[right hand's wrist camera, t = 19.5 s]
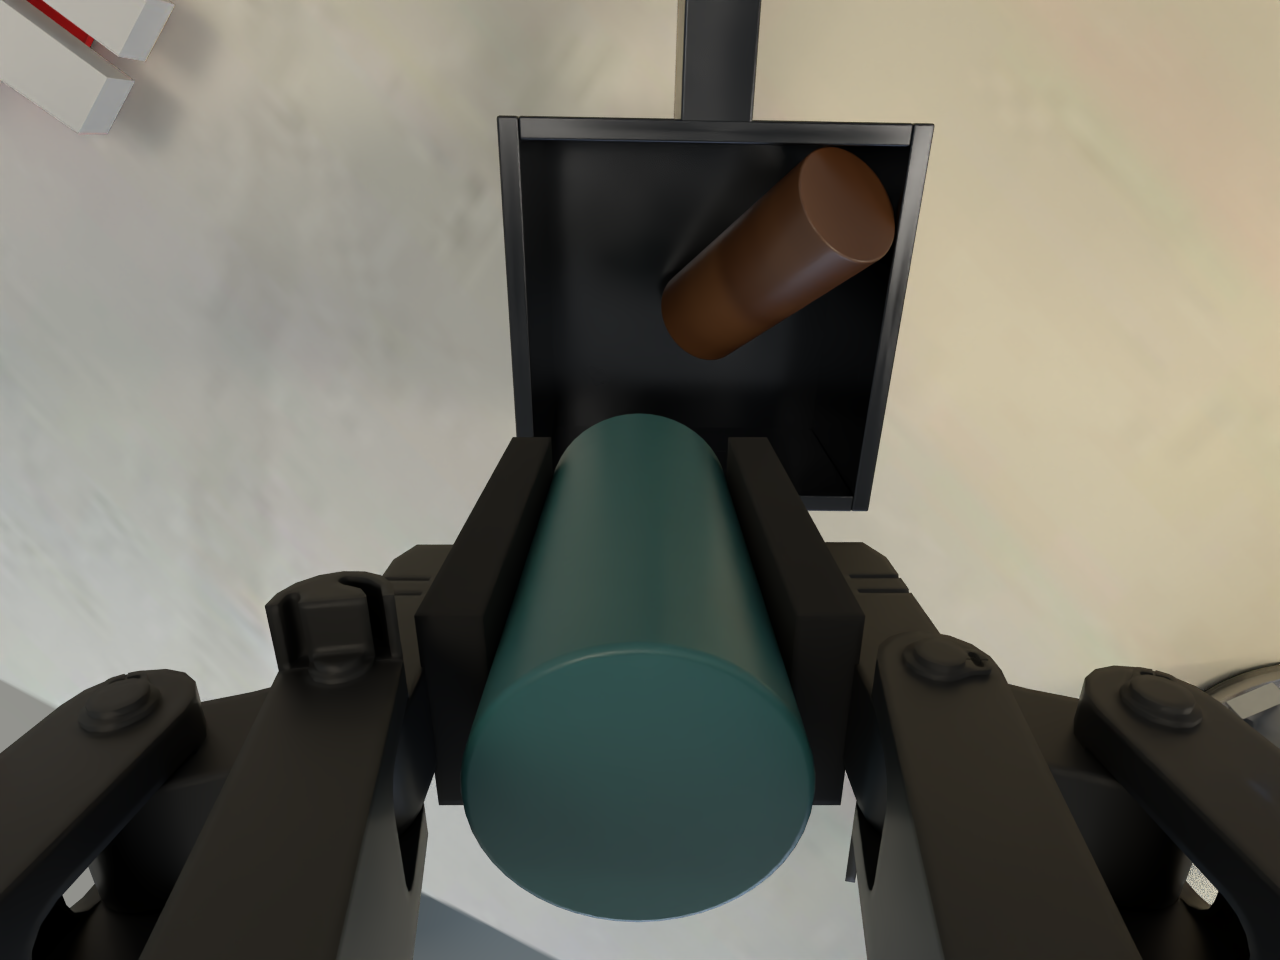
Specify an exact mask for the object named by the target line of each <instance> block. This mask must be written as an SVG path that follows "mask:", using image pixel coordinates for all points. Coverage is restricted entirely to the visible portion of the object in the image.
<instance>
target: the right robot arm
mask: <svg viewBox="0 0 1280 960" xmlns="http://www.w3.org/2000/svg"><path fill="white" fill-rule="evenodd" d="M552 479H553V466H552V445H551V437H513V438H512V440H511V441H510V443H509V445H508V447H507V449H506V450H505V452H504V454H503V456H502V458H501V459H500V461H499V463H498V465H497V467H496V468H495V470H494V472H493V474H492V476H491V478H490V479H489V481H488V483H487V485H486V487H485V488H484V490H483V492H482V494H481V496H480V497H479V499H478V501H477V503H476V505H475V506H474V508H473V510H472V512H471V514H470V515H469V517H468V519H467V521H466V523H465V525H464V526H463V528H462V530H461V532H460V534H459V535H458V537H457V539H456V541H455V543H454V544H453V545H416V546H414V547H413V548H411V549H410V550H408V551H406V552H405V553H403V554H402V555H400V556H399V557H397V558H395V559H394V560H393V561H392V563H391V564H390V566H389V567H388V568H387V570H386V571H385V573H384V574H383V576H381V575H377V574H373V573H369V572H359V571H342V572H336V573H330V574H324V575H318V576H315V577H312V578H309V579H306V580H303V581H300V582H297V583H295V584H293V585H291V586H290V587H288V588H286V589H284V590H282V591H280V592H279V593H277V594H276V595H275V596H274V597H273V598H272V599H271V600H270V601H269V602H268V603H267V604H266V605H265V609H266V614H267V618H268V623H269V628H270V632H271V637H272V641H273V646H274V651H275V655H276V660H277V664H278V669H279V672H278V674H277V676H276V678H275V680H274V682H273V684H272V686H271V687H270V688H266V689H262V690H258V691H254V692H250V693H245V694H240V695H235V696H230V697H225V698H219V699H214V700H209V701H204V702H201V701H200V697H199V693H198V690H197V686H196V682H195V681H194V680H193V679H192V678H191V677H190V676H188V675H187V674H186V673H184V672H179V671H174V670H169V669H159V670H146V671H136V672H131V673H128V674H127V675H125V674H122V675H119V676H116V677H112V678H110V679H108V680H106V681H105V682H103V683H100V684H98V685H96V686H93V687H91V688H89V689H86V690H84V691H83V692H81V693H79V694H78V695H76V696H75V697H73V698H72V699H70V700H68V701H67V702H65V703H64V704H62V705H61V706H59V707H58V708H57V709H56V710H54V711H53V712H52V713H51V714H49V715H48V716H47V717H46V718H44V719H43V720H42V721H41V722H39V723H38V724H37V725H35V726H34V727H33V728H32V729H31V730H29V731H28V732H27V733H25V734H24V735H23V736H22V737H20V738H19V739H18V740H17V741H15V742H14V743H13V744H12V745H10V746H9V747H8V748H7V749H5V750H4V751H3V752H1V753H0V960H413V955H414V946H415V938H416V930H417V922H418V913H419V905H420V897H421V889H422V880H423V872H424V864H425V856H426V847H427V839H428V830H427V822H426V815H425V808H424V800H425V797H426V794H427V792H428V789H429V786H430V783H431V781H432V778H433V775H434V772H435V779H436V786H437V794H438V801H439V805H464V804H463V799H462V794H461V778H460V772H461V765H462V758H463V753H464V750H465V747H466V743H467V740H468V737H469V734H470V731H471V728H472V725H473V722H474V719H475V716H476V712H477V709H478V706H479V703H480V700H481V697H482V694H483V691H484V688H485V685H486V682H487V679H488V676H489V672H490V669H491V666H492V663H493V660H494V657H495V654H496V651H497V648H498V645H499V642H500V639H501V636H502V632H503V629H504V626H505V623H506V620H507V617H508V614H509V611H510V608H511V605H512V602H513V599H514V595H515V592H516V589H517V586H518V583H519V580H520V577H521V574H522V571H523V568H524V565H525V562H526V559H527V555H528V552H529V549H530V546H531V543H532V540H533V537H534V534H535V531H536V528H537V525H538V522H539V519H540V515H541V512H542V509H543V506H544V503H545V500H546V497H547V494H548V491H549V488H550V485H551V482H552ZM726 482H727V485H728V488H729V491H730V495H731V498H732V501H733V504H734V507H735V510H736V514H737V517H738V520H739V523H740V526H741V529H742V533H743V536H744V539H745V542H746V545H747V548H748V551H749V555H750V558H751V561H752V564H753V567H754V570H755V574H756V577H757V580H758V583H759V586H760V589H761V592H762V596H763V599H764V602H765V605H766V608H767V611H768V615H769V618H770V621H771V624H772V627H773V630H774V634H775V637H776V640H777V643H778V646H779V649H780V652H781V656H782V659H783V662H784V665H785V668H786V671H787V675H788V678H789V681H790V684H791V687H792V690H793V694H794V697H795V700H796V703H797V706H798V709H799V712H800V716H801V719H802V722H803V725H804V728H805V731H806V735H807V738H808V741H809V744H810V747H811V750H812V753H813V759H814V766H815V773H816V775H815V794H814V799H813V804H812V805H841V798H842V790H843V782H844V775H845V770H846V773H847V776H848V778H849V781H850V784H851V786H852V789H853V792H854V795H855V797H856V800H857V801H856V808H855V815H854V822H853V829H852V836H851V844H850V851H849V858H848V865H847V872H846V879H845V881H848V882H854V883H855V879H856V873H857V879H858V887H859V895H860V904H861V912H862V920H863V928H864V936H865V945H866V953H867V960H1280V665H1275V666H1269V667H1264V668H1260V669H1256V670H1252V671H1249V672H1246V673H1243V674H1240V675H1237V676H1235V677H1232V678H1230V679H1227V680H1225V681H1223V682H1221V683H1219V684H1217V685H1215V686H1213V687H1212V688H1210V689H1208V690H1206V691H1205V692H1203V691H1202V690H1200V689H1199V688H1197V687H1196V686H1193V685H1191V684H1188V683H1186V682H1184V681H1181V680H1179V679H1177V678H1175V677H1173V676H1172V675H1169V674H1166V673H1163V672H1160V671H1152V669H1147V668H1141V667H1126V666H1110V667H1104V668H1099V669H1095V670H1094V671H1093V672H1091V673H1090V674H1089V675H1088V676H1087V677H1086V678H1085V680H1084V684H1083V687H1082V691H1081V695H1080V699H1077V698H1072V697H1067V696H1062V695H1056V694H1051V693H1046V692H1041V691H1036V690H1031V689H1026V688H1022V687H1018V686H1015V685H1011V684H1008V683H1007V681H1006V679H1005V677H1004V675H1003V673H1002V671H1001V669H1000V668H999V667H998V665H997V664H996V663H995V662H994V661H993V659H992V658H991V657H990V656H989V655H987V654H986V653H984V652H983V651H981V650H980V649H978V648H977V647H975V646H974V645H972V644H970V643H967V642H965V641H962V640H959V639H957V638H954V637H952V636H948V635H943V634H940V633H939V631H938V630H937V629H936V627H935V626H934V624H933V623H932V622H931V620H930V619H929V617H928V616H927V614H926V613H925V612H924V610H923V609H922V607H921V606H920V605H919V603H918V602H917V600H916V599H915V597H914V596H913V595H912V593H909V589H908V587H907V586H906V585H905V583H904V582H903V580H902V579H901V578H899V577H898V573H897V572H896V570H895V569H894V568H893V566H892V565H891V563H890V562H889V561H888V559H887V558H886V557H885V556H883V555H882V554H880V553H879V552H877V551H876V550H874V549H872V548H871V547H869V546H868V545H866V544H865V543H863V542H824V540H823V538H822V536H821V535H820V533H819V531H818V529H817V527H816V525H815V524H814V522H813V520H812V518H811V516H810V515H809V513H808V511H807V509H806V507H805V506H804V504H803V502H802V500H801V498H800V497H799V495H798V493H797V491H796V489H795V487H794V486H793V484H792V482H791V480H790V478H789V477H788V475H787V473H786V471H785V469H784V468H783V466H782V464H781V462H780V460H779V459H778V457H777V455H776V453H775V451H774V449H773V448H772V446H771V444H770V442H769V440H768V439H767V437H728V456H727V478H726ZM1192 863H1193V864H1194V865H1195V866H1196V867H1197V868H1198V869H1199V870H1200V871H1201V872H1202V873H1203V875H1204V876H1205V877H1206V878H1207V879H1208V880H1209V881H1210V882H1211V883H1212V884H1213V885H1214V887H1215V888H1216V889H1217V890H1218V891H1219V892H1218V894H1217V897H1216V899H1215V902H1214V903H1213V904H1212V905H1210V904H1208V903H1207V902H1206V901H1205V900H1203V899H1202V898H1201V897H1200V896H1199V895H1198V894H1197V893H1196V892H1195V891H1194V890H1193V889H1192V887H1191V886H1190V885H1189V884H1188V883H1187V882H1186V878H1187V876H1188V873H1189V870H1190V868H1191V865H1192ZM87 867H89V869H90V872H91V875H92V877H93V880H94V883H95V884H94V885H93V887H92V888H91V889H90V890H89V891H88V892H87V893H86V894H85V896H84V897H83V898H82V899H80V900H79V901H78V902H77V903H75V904H74V905H73V906H72V907H71V908H69V907H68V906H67V905H66V903H65V901H64V898H63V896H62V895H63V894H64V892H65V891H66V890H67V889H68V888H69V887H70V886H71V885H72V884H73V883H74V882H75V880H76V879H77V878H78V877H79V876H80V875H81V874H82V873H83V872H84V871H85V869H86V868H87Z"/></svg>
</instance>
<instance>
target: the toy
mask: <svg viewBox="0 0 1280 960" xmlns="http://www.w3.org/2000/svg"><path fill="white" fill-rule="evenodd" d="M174 7H175V5H174V4H173V3H172V2H171V1H169V0H0V80H1V81H3V82H4V83H5V84H7V85H8V86H10V87H11V88H13V89H14V90H15V91H17V92H18V93H20V94H21V95H23V96H24V97H26V98H27V99H28V100H30V101H31V102H33V103H34V104H36V105H37V106H38V107H40V108H41V109H43V110H44V111H46V112H47V113H49V114H50V115H51V116H53V117H54V118H56V119H57V120H59V121H60V122H62V123H63V124H64V125H66V126H67V127H69V128H70V129H72V130H73V131H74V132H76V133H77V134H108V132H109V130H110V128H111V126H112V124H113V122H114V120H115V119H116V117H117V115H118V113H119V111H120V109H121V107H122V105H123V103H124V101H125V100H126V98H127V96H128V94H129V92H130V90H131V88H132V86H133V84H134V82H135V81H134V80H133V79H132V78H130V77H129V76H128V75H126V74H125V73H123V72H122V71H121V70H119V69H118V68H117V67H115V66H114V65H113V64H111V63H110V62H109V61H107V60H106V59H105V58H103V57H102V56H101V55H99V54H98V53H96V52H95V51H94V50H92V49H91V48H90V47H91V44H92V42H93V40H94V39H95V40H96V41H98V42H99V43H100V44H102V45H103V46H104V47H106V48H107V49H108V50H110V51H111V52H112V53H114V54H115V55H116V56H118V57H123V58H128V59H134V60H140V61H145V62H146V60H147V58H148V56H149V54H150V52H151V50H152V48H153V46H154V44H155V43H156V41H157V39H158V37H159V35H160V33H161V31H162V29H163V27H164V26H165V24H166V22H167V20H168V18H169V16H170V14H171V12H172V10H173V8H174Z"/></svg>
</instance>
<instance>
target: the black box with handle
mask: <svg viewBox="0 0 1280 960" xmlns="http://www.w3.org/2000/svg"><path fill="white" fill-rule="evenodd" d="M760 12H761V0H678V10H677V40H676V71H675V101H674V119H660V118H606V117H553V116H520V117H518V116H497V130H498V146H499V162H500V178H501V194H502V210H503V226H504V243H505V259H506V275H507V291H508V307H509V323H510V339H511V355H512V372H513V388H514V404H515V420H516V436H517V437H551V445H552V466H553V475H554V472H555V469H556V466H557V464H558V462H559V460H560V458H561V456H562V455H563V453H564V452H565V450H566V449H567V447H568V446H569V445H570V444H571V443H572V442H573V441H574V440H575V439H576V438H577V437H578V436H579V435H580V434H581V433H583V432H584V431H585V430H587V429H588V428H590V427H592V426H593V425H595V424H597V423H599V422H601V421H603V420H606V419H609V418H612V417H616V416H621V415H626V414H652V415H657V416H662V417H666V418H669V419H672V420H675V421H677V422H679V423H681V424H683V425H685V426H686V427H688V428H690V429H691V430H693V431H694V432H695V433H697V434H698V435H699V436H700V437H701V438H702V439H703V440H704V441H705V442H706V443H707V444H708V445H709V446H710V447H711V449H712V450H713V452H714V453H715V455H716V456H717V458H718V460H719V462H720V464H721V467H722V469H723V473H724V476H725V479H726V478H727V456H728V437H767V439H768V440H769V442H770V444H771V446H772V448H773V449H774V451H775V453H776V455H777V457H778V459H779V460H780V462H781V464H782V466H783V468H784V469H785V471H786V473H787V475H788V477H789V478H790V480H791V482H792V484H793V486H794V487H795V489H796V491H797V493H798V495H799V497H800V498H801V500H802V502H803V504H804V506H805V507H806V509H807V511H851V510H852V511H868V507H869V501H870V496H871V490H872V484H873V478H874V472H875V467H876V461H877V455H878V449H879V444H880V438H881V432H882V426H883V420H884V415H885V409H886V403H887V397H888V391H889V386H890V380H891V374H892V368H893V363H894V357H895V351H896V345H897V339H898V334H899V328H900V322H901V316H902V311H903V305H904V299H905V293H906V287H907V282H908V276H909V270H910V264H911V258H912V253H913V247H914V241H915V235H916V230H917V224H918V218H919V212H920V206H921V201H922V195H923V189H924V183H925V178H926V172H927V166H928V160H929V154H930V149H931V143H932V137H933V131H934V124H929V123H913V124H911V123H875V122H821V121H768V120H752V118H753V105H754V92H755V78H756V65H757V52H758V38H759V25H760ZM822 147H837V148H841V149H844V150H846V151H849V152H851V153H852V154H854V155H856V156H857V157H859V158H860V159H861V160H862V161H864V162H865V163H866V164H867V165H868V166H869V167H870V168H871V169H872V170H873V172H874V173H875V174H876V175H877V177H878V178H879V180H880V181H881V183H882V184H883V186H884V188H885V190H886V192H887V194H888V196H889V199H890V201H891V204H892V208H893V212H894V218H895V234H894V239H893V242H892V245H891V247H890V249H889V250H888V252H887V253H886V254H885V255H884V256H883V257H882V258H881V259H880V260H878V261H876V262H875V263H873V264H872V265H870V266H868V267H867V268H865V269H864V270H862V271H861V272H859V273H857V274H856V275H854V276H853V277H851V278H849V279H848V280H846V281H845V282H843V283H842V284H840V285H838V286H837V287H835V288H834V289H832V290H830V291H829V292H827V293H826V294H824V295H822V296H821V297H819V298H818V299H816V300H815V301H813V302H811V303H810V304H808V305H807V306H805V307H803V308H802V309H800V310H799V311H797V312H796V313H794V314H792V315H791V316H789V317H788V318H786V319H784V320H783V321H781V322H780V323H778V324H776V325H775V326H773V327H772V328H770V329H769V330H767V331H765V332H764V333H762V334H761V335H759V336H757V337H756V338H754V339H753V340H751V341H749V342H748V343H746V344H745V345H743V346H742V347H740V348H738V349H737V350H735V351H734V352H732V353H730V354H729V355H727V356H725V357H723V358H721V359H717V360H704V359H700V358H697V357H694V356H692V355H690V354H689V353H687V352H686V351H684V350H683V349H682V348H681V347H680V346H678V344H677V343H676V342H675V341H674V340H673V338H672V337H671V336H670V334H669V332H668V331H667V328H666V326H665V324H664V321H663V317H662V311H661V300H662V295H663V292H664V289H665V287H666V285H667V284H668V282H669V281H670V280H671V279H672V278H673V277H674V276H675V275H676V274H677V273H679V272H680V271H681V270H682V269H683V268H684V267H685V266H686V265H687V264H688V263H690V262H691V261H692V260H693V259H694V258H695V257H696V256H697V255H698V254H699V253H701V252H702V251H703V250H704V249H705V248H706V247H707V246H708V245H709V244H710V243H712V242H713V241H714V240H715V239H716V238H717V237H718V236H719V235H720V234H721V233H723V232H724V231H725V230H726V229H727V228H728V227H729V226H730V225H731V224H732V223H734V222H735V221H736V220H737V219H738V218H739V217H740V216H741V215H742V214H743V213H745V212H746V211H747V210H748V209H749V208H750V207H751V206H752V205H753V204H755V203H756V202H757V201H758V200H759V199H760V198H761V197H762V196H763V195H764V194H766V193H767V192H768V191H769V190H770V189H771V188H772V187H773V186H774V185H775V184H777V183H778V182H779V181H780V180H781V179H782V178H783V177H784V176H785V175H786V174H788V173H789V172H790V171H791V170H792V169H793V168H794V167H795V166H796V165H797V164H799V163H800V162H801V161H802V160H803V159H804V158H805V157H806V156H807V155H808V154H810V153H811V152H812V151H814V150H816V149H819V148H822Z"/></svg>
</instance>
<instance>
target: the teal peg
mask: <svg viewBox="0 0 1280 960" xmlns="http://www.w3.org/2000/svg"><path fill="white" fill-rule="evenodd" d="M815 775H816V773H815V766H814V759H813V753H812V750H811V747H810V744H809V741H808V738H807V735H806V731H805V728H804V725H803V722H802V719H801V716H800V712H799V709H798V706H797V703H796V700H795V697H794V694H793V690H792V687H791V684H790V681H789V678H788V675H787V671H786V668H785V665H784V662H783V659H782V656H781V652H780V649H779V646H778V643H777V640H776V637H775V634H774V630H773V627H772V624H771V621H770V618H769V615H768V611H767V608H766V605H765V602H764V599H763V596H762V592H761V589H760V586H759V583H758V580H757V577H756V574H755V570H754V567H753V564H752V561H751V558H750V555H749V551H748V548H747V545H746V542H745V539H744V536H743V533H742V529H741V526H740V523H739V520H738V517H737V514H736V510H735V507H734V504H733V501H732V498H731V495H730V491H729V488H728V485H727V482H726V479H725V476H724V473H723V469H722V467H721V464H720V462H719V460H718V458H717V456H716V455H715V453H714V452H713V450H712V449H711V447H710V446H709V445H708V444H707V443H706V442H705V441H704V440H703V439H702V438H701V437H700V436H699V435H698V434H697V433H695V432H694V431H693V430H691V429H690V428H688V427H686V426H685V425H683V424H681V423H679V422H677V421H675V420H672V419H669V418H666V417H662V416H657V415H652V414H626V415H621V416H616V417H612V418H609V419H606V420H603V421H601V422H599V423H597V424H595V425H593V426H592V427H590V428H588V429H587V430H585V431H584V432H583V433H581V434H580V435H579V436H578V437H577V438H576V439H575V440H574V441H573V442H572V443H571V444H570V445H569V446H568V447H567V449H566V450H565V452H564V453H563V455H562V456H561V458H560V460H559V462H558V464H557V466H556V469H555V472H554V475H553V479H552V482H551V485H550V488H549V491H548V494H547V497H546V500H545V503H544V506H543V509H542V512H541V515H540V519H539V522H538V525H537V528H536V531H535V534H534V537H533V540H532V543H531V546H530V549H529V552H528V555H527V559H526V562H525V565H524V568H523V571H522V574H521V577H520V580H519V583H518V586H517V589H516V592H515V595H514V599H513V602H512V605H511V608H510V611H509V614H508V617H507V620H506V623H505V626H504V629H503V632H502V636H501V639H500V642H499V645H498V648H497V651H496V654H495V657H494V660H493V663H492V666H491V669H490V672H489V676H488V679H487V682H486V685H485V688H484V691H483V694H482V697H481V700H480V703H479V706H478V709H477V712H476V716H475V719H474V722H473V725H472V728H471V731H470V734H469V737H468V740H467V743H466V747H465V750H464V753H463V758H462V765H461V772H460V778H461V794H462V799H463V804H464V809H465V814H466V817H467V819H468V822H469V825H470V827H471V830H472V832H473V834H474V836H475V838H476V839H477V841H478V843H479V845H480V846H481V848H482V849H483V851H484V852H485V853H486V855H487V856H488V857H489V858H490V860H491V861H492V862H493V863H494V864H495V865H496V866H497V867H498V868H499V869H500V870H501V871H502V872H503V873H504V874H505V875H506V876H507V877H508V878H510V879H511V880H512V881H513V882H515V883H516V884H517V885H519V886H520V887H521V888H523V889H524V890H526V891H528V892H529V893H531V894H533V895H534V896H536V897H538V898H540V899H542V900H544V901H546V902H548V903H550V904H552V905H555V906H557V907H560V908H563V909H565V910H568V911H571V912H574V913H577V914H582V915H586V916H590V917H594V918H599V919H607V920H614V921H628V922H648V921H663V920H670V919H677V918H682V917H686V916H691V915H695V914H699V913H702V912H705V911H708V910H711V909H714V908H717V907H719V906H722V905H724V904H726V903H728V902H730V901H732V900H734V899H737V898H739V897H740V896H742V895H744V894H745V893H747V892H748V891H750V890H752V889H753V888H755V887H756V886H758V885H759V884H760V883H761V882H763V881H764V880H765V879H767V878H768V877H769V876H770V875H771V874H772V873H773V872H774V871H775V870H776V869H777V868H778V867H779V866H780V865H781V864H782V863H783V862H784V861H785V860H786V859H787V857H788V856H789V855H790V853H791V852H792V851H793V849H794V848H795V847H796V845H797V843H798V841H799V839H800V838H801V836H802V834H803V832H804V830H805V827H806V825H807V822H808V819H809V816H810V813H811V809H812V804H813V799H814V794H815Z"/></svg>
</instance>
